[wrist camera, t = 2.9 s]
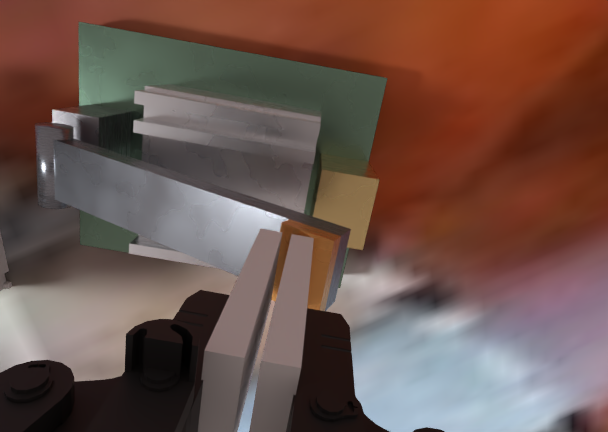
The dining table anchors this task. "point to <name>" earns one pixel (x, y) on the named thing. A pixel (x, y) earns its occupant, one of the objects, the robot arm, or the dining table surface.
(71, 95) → the dining table surface
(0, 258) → the circuit breaker
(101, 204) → the silver elongated bar
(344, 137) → the circuit board
